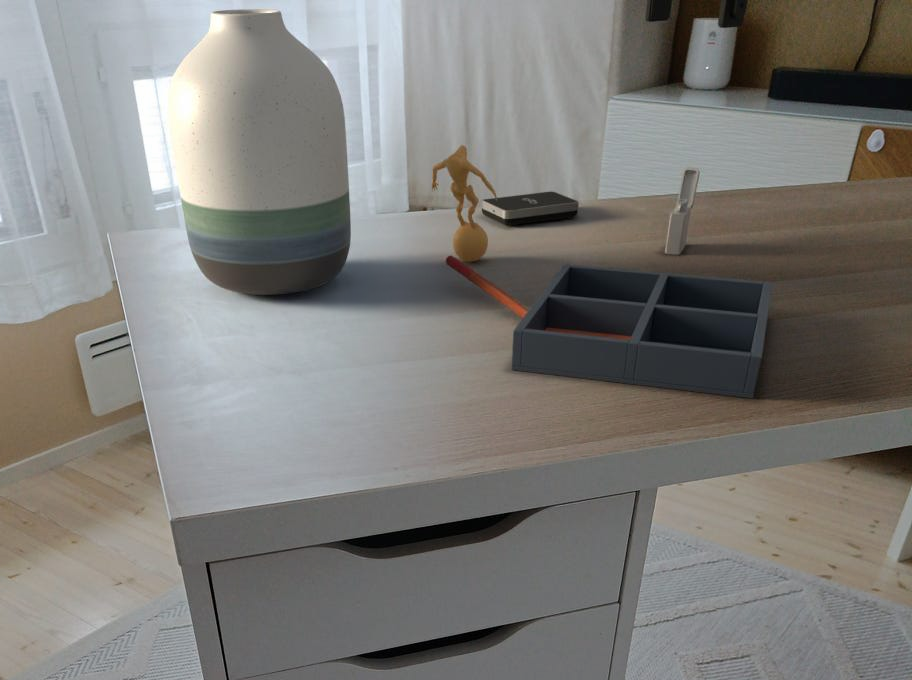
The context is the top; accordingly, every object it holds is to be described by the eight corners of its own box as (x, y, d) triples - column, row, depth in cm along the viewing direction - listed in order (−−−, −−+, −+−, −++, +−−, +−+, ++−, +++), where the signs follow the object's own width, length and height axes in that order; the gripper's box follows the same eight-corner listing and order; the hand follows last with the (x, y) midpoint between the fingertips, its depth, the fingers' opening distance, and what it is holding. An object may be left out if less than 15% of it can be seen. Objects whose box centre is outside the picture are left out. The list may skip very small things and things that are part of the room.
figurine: (510, 262, 103) (515, 143, 96) (481, 275, 99) (484, 153, 92) (449, 251, 107) (450, 135, 100) (419, 263, 103) (417, 144, 96)
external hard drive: (579, 218, 118) (580, 202, 117) (504, 228, 115) (504, 211, 114) (551, 207, 123) (552, 191, 122) (478, 216, 120) (479, 199, 119)
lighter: (679, 254, 105) (691, 178, 100) (664, 253, 106) (675, 177, 101) (689, 239, 110) (700, 166, 105) (674, 237, 111) (685, 165, 106)
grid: (764, 318, 88) (772, 282, 86) (752, 398, 73) (762, 357, 71) (561, 298, 93) (563, 263, 91) (511, 370, 78) (513, 330, 76)
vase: (322, 252, 107) (303, 3, 92) (378, 293, 95) (366, 13, 80) (178, 271, 101) (133, 9, 87) (219, 317, 89) (174, 21, 74)
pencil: (443, 259, 97) (450, 252, 97) (447, 266, 98) (454, 260, 97) (540, 327, 84) (548, 319, 84) (544, 335, 85) (552, 327, 85)
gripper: (830, -205, 81) (784, 27, 91) (679, -189, 92) (654, 17, 102) (777, -211, 77) (736, 32, 88) (627, -193, 88) (607, 20, 99)
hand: (692, 23), depth 95 cm, fingers open, 9 cm apart
